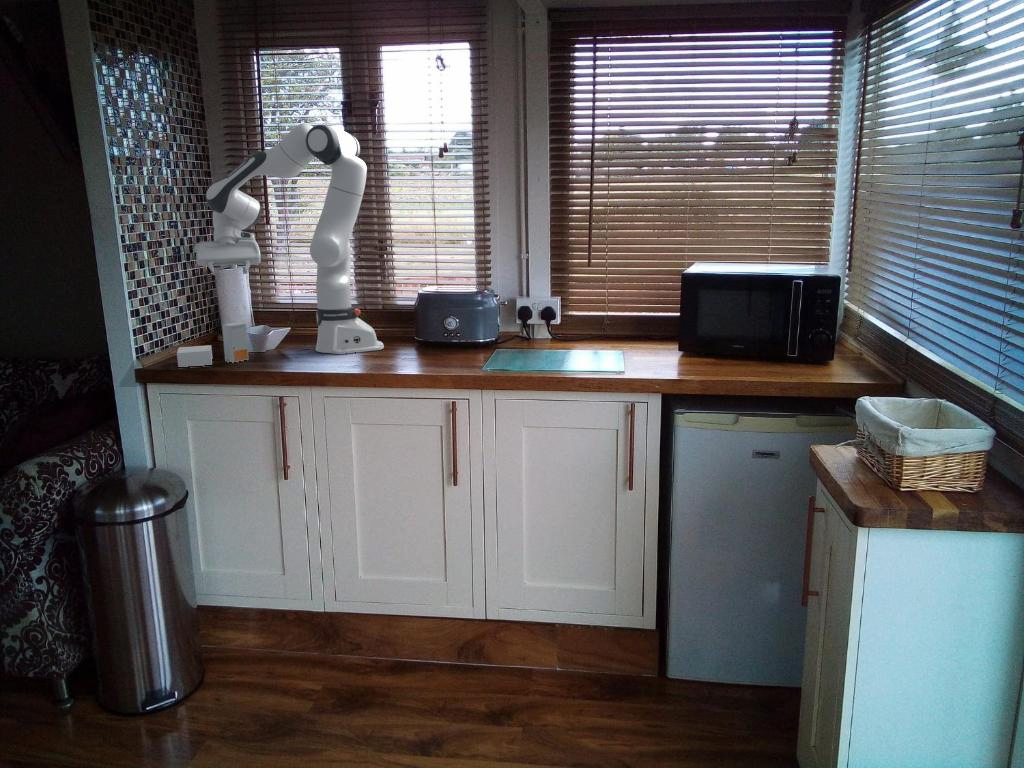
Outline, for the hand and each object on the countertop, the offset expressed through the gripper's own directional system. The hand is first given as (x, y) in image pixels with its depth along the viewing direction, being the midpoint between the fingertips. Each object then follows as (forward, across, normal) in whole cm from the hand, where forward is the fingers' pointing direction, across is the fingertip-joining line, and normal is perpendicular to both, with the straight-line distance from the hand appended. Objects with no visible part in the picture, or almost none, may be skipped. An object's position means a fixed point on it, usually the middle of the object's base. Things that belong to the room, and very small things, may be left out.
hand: (229, 273), depth 271 cm
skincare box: (+30, 0, +8) cm, 31 cm away
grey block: (+29, -12, +8) cm, 33 cm away
